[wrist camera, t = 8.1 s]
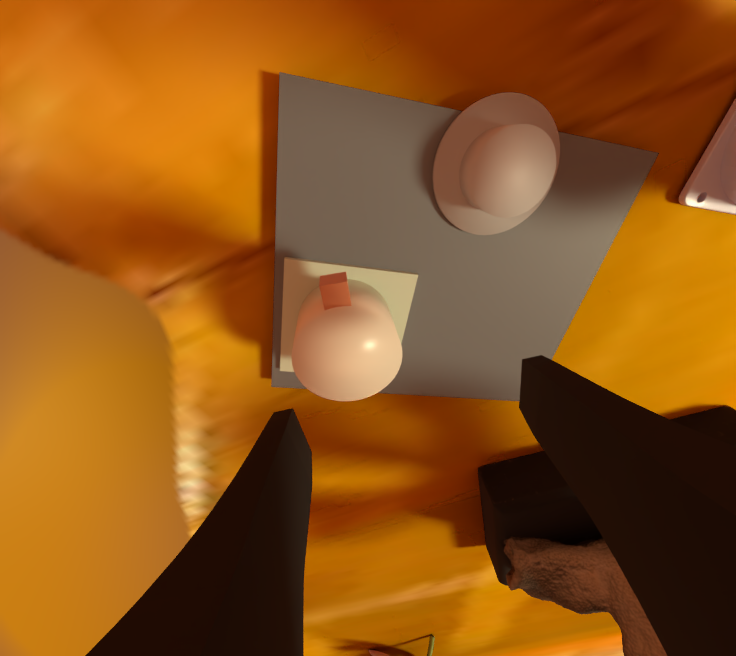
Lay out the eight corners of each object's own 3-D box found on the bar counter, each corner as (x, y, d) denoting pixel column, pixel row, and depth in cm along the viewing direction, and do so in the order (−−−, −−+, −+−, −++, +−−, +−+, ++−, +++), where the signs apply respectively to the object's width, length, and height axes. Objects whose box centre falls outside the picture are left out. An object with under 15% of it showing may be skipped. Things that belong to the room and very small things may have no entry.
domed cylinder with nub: (394, 352, 20) (406, 391, 17) (309, 366, 20) (305, 408, 17) (383, 251, 17) (395, 277, 14) (282, 267, 17) (270, 297, 14)
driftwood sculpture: (452, 552, 35) (589, 1013, 17) (432, 419, 25) (735, 1241, 6) (684, 501, 35) (1089, 915, 16) (761, 344, 24) (2110, 986, 6)
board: (656, 129, 16) (713, 128, 14) (523, 394, 24) (545, 422, 22) (282, 45, 13) (272, 24, 11) (273, 378, 21) (266, 409, 19)
